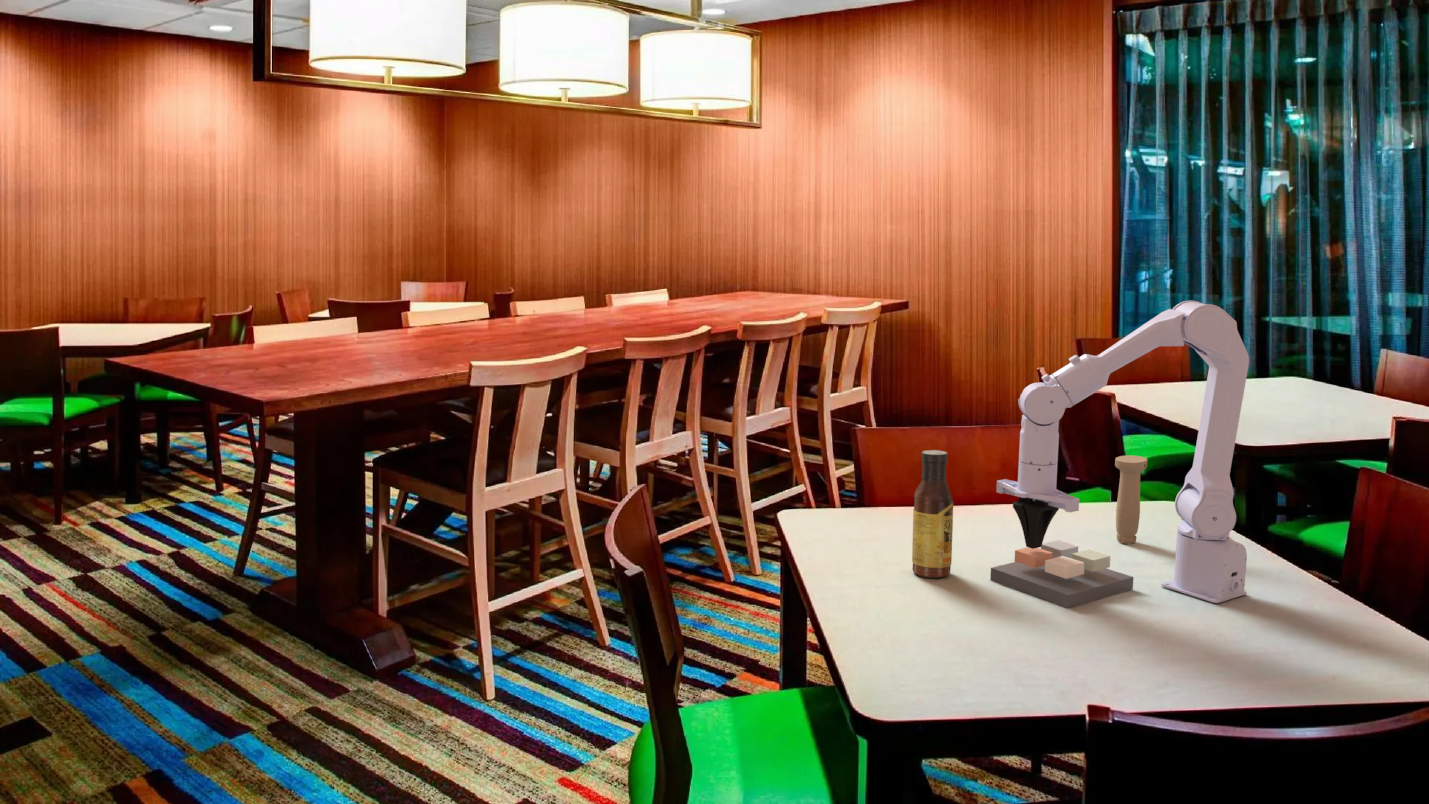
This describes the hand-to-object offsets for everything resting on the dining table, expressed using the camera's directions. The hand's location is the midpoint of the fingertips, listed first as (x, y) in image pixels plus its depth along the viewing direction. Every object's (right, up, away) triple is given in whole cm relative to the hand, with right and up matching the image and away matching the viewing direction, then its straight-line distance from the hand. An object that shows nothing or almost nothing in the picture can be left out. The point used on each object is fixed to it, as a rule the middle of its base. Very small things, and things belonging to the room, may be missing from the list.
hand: (1033, 546), depth 167 cm
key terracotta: (0, -3, 0) cm, 3 cm away
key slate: (+5, -2, +4) cm, 6 cm away
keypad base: (+4, -6, 0) cm, 7 cm away
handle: (+23, -2, +22) cm, 32 cm away
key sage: (+8, -3, -1) cm, 9 cm away
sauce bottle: (-15, -5, +6) cm, 17 cm away
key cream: (+3, -3, -5) cm, 6 cm away
